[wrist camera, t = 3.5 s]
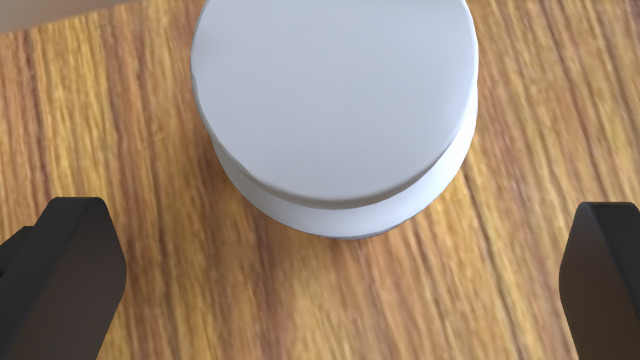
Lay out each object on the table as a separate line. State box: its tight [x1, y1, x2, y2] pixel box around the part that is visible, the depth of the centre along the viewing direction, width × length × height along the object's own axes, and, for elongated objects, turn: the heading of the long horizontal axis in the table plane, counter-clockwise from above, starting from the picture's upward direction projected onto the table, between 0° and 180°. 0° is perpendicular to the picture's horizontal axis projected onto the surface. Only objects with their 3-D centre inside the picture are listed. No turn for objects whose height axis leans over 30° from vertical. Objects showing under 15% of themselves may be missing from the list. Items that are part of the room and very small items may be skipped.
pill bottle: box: [190, 0, 478, 240], centre depth 15 cm, size 6×6×10 cm
